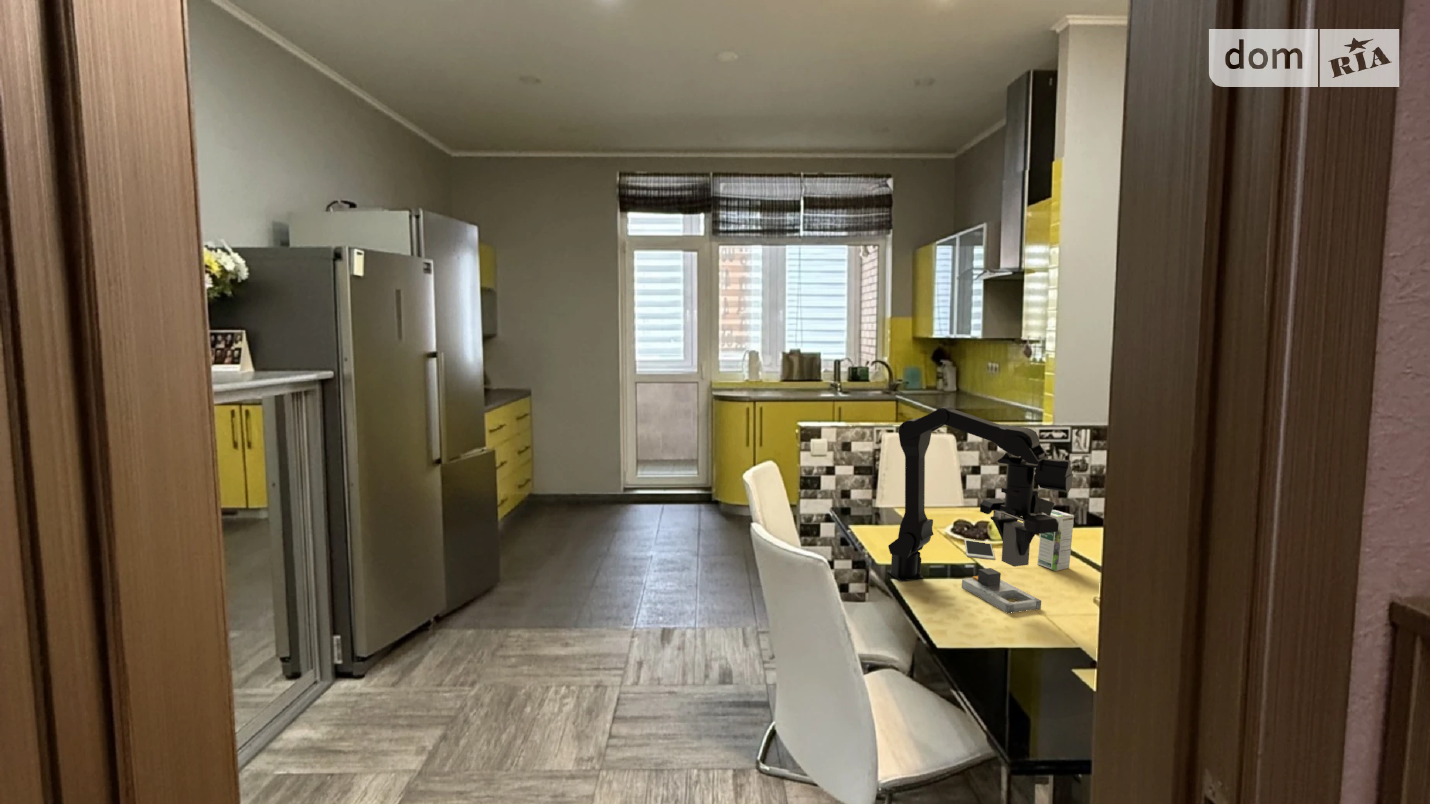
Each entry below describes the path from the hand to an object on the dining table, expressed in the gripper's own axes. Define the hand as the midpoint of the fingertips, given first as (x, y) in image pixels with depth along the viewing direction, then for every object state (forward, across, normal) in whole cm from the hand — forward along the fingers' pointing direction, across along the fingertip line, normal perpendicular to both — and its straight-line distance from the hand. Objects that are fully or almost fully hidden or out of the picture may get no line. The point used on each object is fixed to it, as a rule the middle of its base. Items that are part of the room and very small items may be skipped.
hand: (1015, 552), depth 166 cm
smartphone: (+13, +34, -18) cm, 41 cm away
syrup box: (+12, +17, -28) cm, 35 cm away
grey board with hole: (+12, +4, 0) cm, 13 cm away
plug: (+2, 0, 0) cm, 3 cm away
